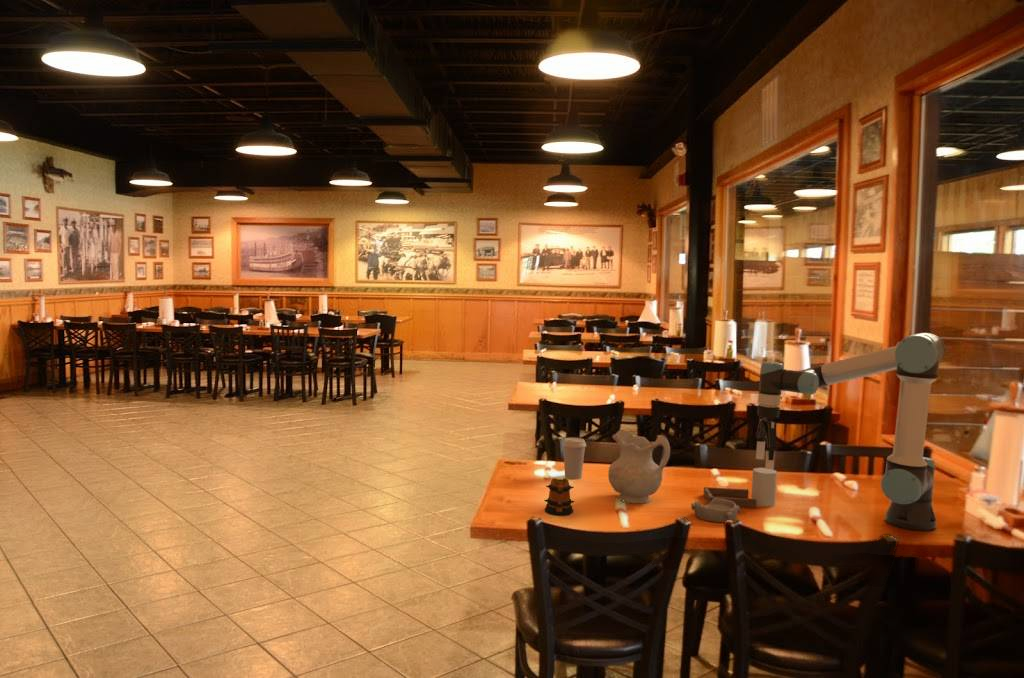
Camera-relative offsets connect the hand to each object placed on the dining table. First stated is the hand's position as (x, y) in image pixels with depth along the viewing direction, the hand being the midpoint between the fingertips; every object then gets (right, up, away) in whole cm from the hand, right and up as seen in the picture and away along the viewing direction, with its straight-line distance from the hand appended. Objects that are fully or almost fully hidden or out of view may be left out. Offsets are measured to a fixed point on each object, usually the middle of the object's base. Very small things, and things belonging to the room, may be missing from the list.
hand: (764, 463), depth 279 cm
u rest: (-12, -14, +2) cm, 19 cm away
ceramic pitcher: (-45, -13, +1) cm, 47 cm away
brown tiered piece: (-75, -14, -17) cm, 78 cm away
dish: (-21, -16, -16) cm, 31 cm away
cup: (0, -15, +1) cm, 15 cm away
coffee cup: (-66, -10, +29) cm, 73 cm away
